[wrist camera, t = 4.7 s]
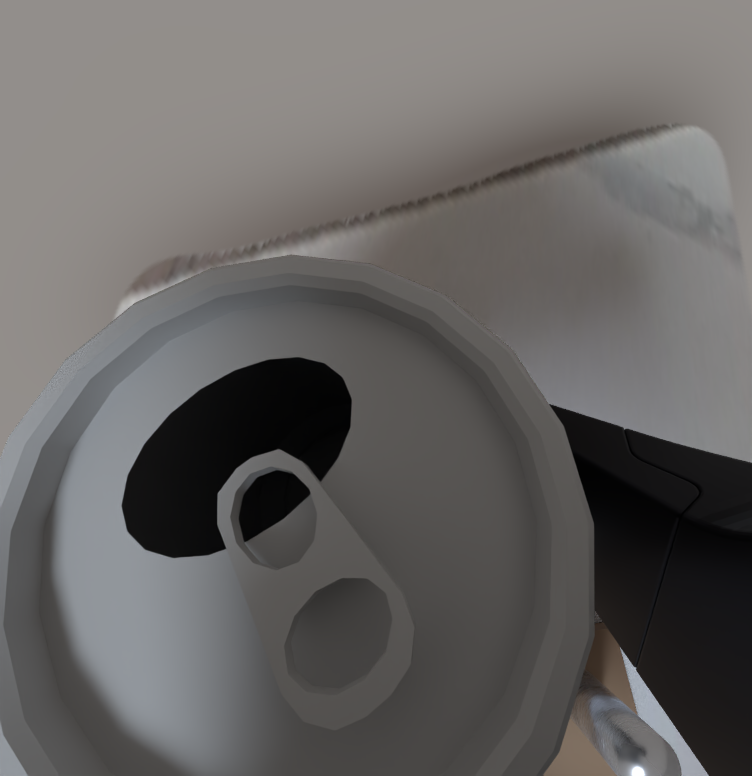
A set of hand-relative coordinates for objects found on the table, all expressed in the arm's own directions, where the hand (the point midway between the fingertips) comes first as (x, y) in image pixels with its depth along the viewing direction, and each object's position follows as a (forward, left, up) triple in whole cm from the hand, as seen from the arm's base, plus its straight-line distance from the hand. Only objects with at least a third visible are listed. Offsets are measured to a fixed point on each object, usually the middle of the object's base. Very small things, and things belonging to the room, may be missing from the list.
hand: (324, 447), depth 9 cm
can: (-1, 0, -7) cm, 7 cm away
